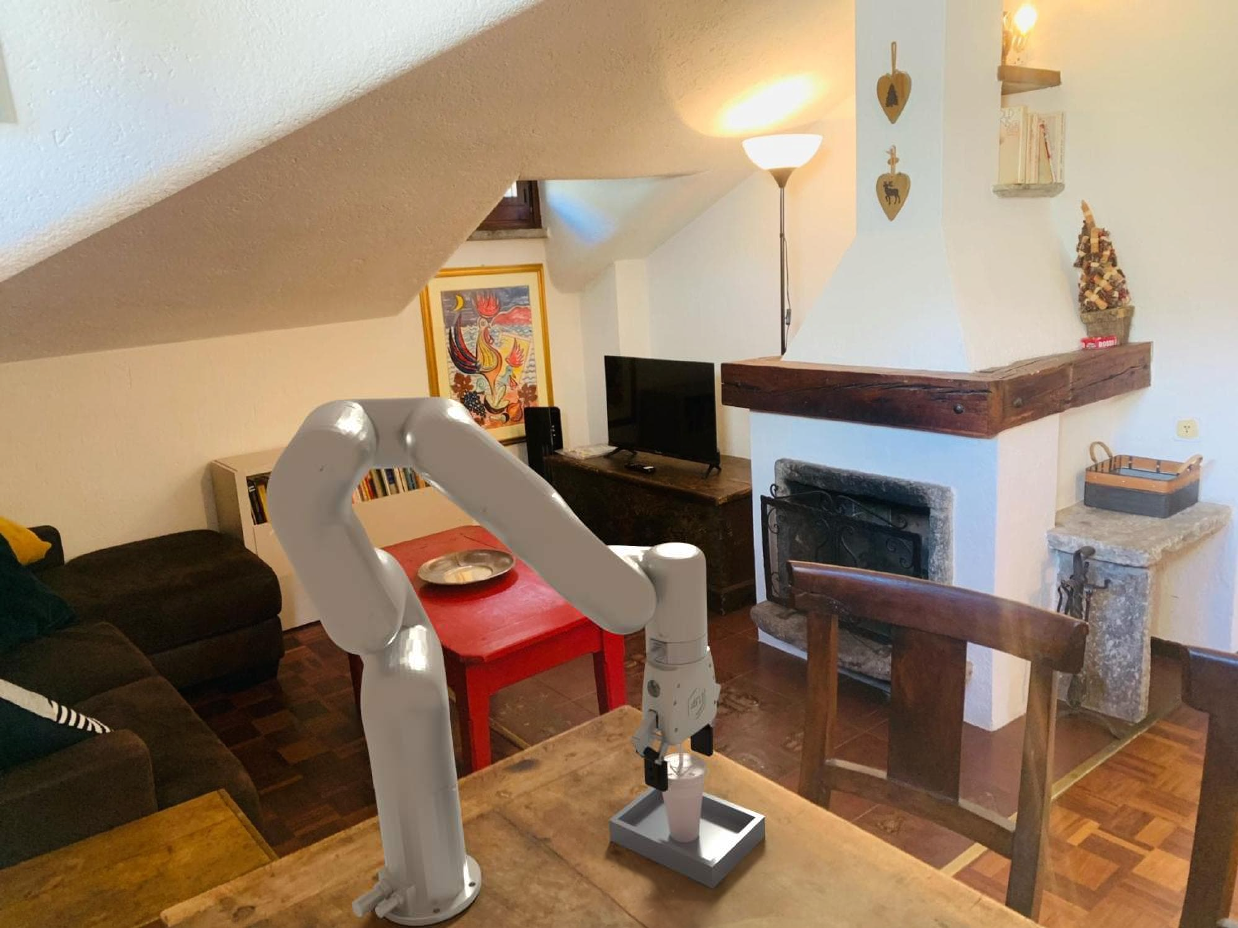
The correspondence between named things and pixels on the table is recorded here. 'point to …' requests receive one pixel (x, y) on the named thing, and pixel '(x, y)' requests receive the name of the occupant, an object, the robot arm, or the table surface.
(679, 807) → the smoothie
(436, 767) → the robot arm
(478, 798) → the table surface
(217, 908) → the table surface
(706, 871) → the grey tray
